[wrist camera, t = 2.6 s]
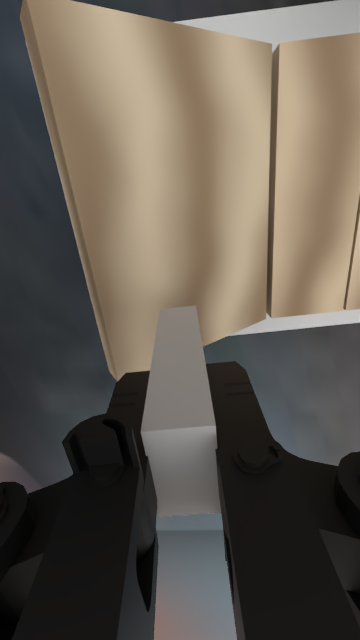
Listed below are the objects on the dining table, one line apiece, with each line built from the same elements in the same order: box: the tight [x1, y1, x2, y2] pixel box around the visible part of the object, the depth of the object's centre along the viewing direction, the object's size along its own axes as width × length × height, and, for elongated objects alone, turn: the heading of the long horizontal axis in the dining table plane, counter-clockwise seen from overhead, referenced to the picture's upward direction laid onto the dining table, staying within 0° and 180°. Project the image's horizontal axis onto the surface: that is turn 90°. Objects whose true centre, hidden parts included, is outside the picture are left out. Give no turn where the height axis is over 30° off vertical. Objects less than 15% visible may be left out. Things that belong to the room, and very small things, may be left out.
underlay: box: [26, 0, 360, 336], centre depth 20 cm, size 25×20×1 cm
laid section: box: [266, 32, 360, 318], centre depth 19 cm, size 11×16×2 cm
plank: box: [20, 0, 272, 382], centre depth 16 cm, size 12×16×2 cm
